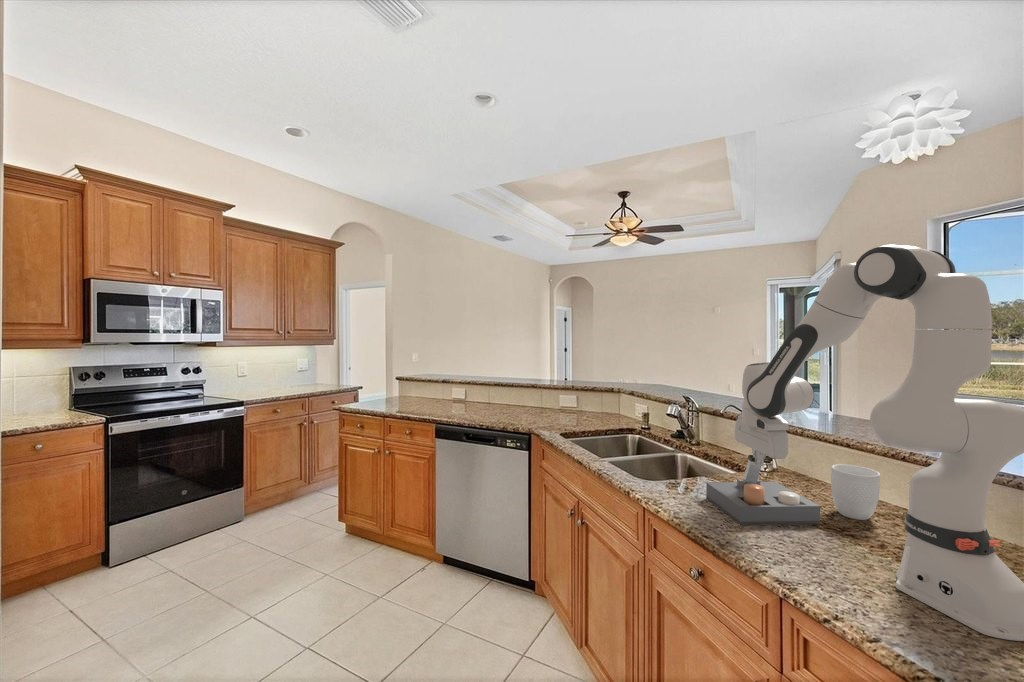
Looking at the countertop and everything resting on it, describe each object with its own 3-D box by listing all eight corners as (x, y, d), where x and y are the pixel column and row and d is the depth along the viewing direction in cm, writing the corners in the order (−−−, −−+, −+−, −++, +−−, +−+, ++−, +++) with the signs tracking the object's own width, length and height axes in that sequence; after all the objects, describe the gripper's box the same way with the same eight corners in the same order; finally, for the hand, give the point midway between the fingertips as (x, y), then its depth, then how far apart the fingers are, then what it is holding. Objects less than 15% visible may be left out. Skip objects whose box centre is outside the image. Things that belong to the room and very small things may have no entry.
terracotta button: (768, 508, 122) (768, 489, 121) (750, 508, 121) (750, 490, 121) (757, 500, 127) (757, 483, 126) (740, 501, 126) (740, 483, 126)
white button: (803, 515, 122) (804, 497, 122) (785, 516, 122) (786, 498, 122) (791, 508, 127) (791, 491, 127) (774, 508, 127) (774, 491, 127)
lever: (756, 487, 135) (764, 458, 130) (743, 487, 134) (751, 458, 130) (753, 484, 136) (761, 454, 132) (740, 484, 136) (748, 454, 132)
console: (819, 524, 121) (820, 498, 121) (740, 525, 120) (741, 499, 120) (775, 497, 140) (775, 475, 140) (706, 498, 139) (706, 476, 139)
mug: (840, 501, 137) (842, 459, 137) (886, 513, 129) (888, 468, 128) (824, 514, 128) (825, 468, 127) (873, 527, 119) (874, 479, 119)
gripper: (729, 411, 140) (728, 455, 140) (770, 426, 119) (770, 477, 120) (748, 410, 140) (748, 454, 141) (793, 425, 120) (792, 476, 120)
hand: (758, 465), depth 130 cm, fingers closed, pressing on lever
